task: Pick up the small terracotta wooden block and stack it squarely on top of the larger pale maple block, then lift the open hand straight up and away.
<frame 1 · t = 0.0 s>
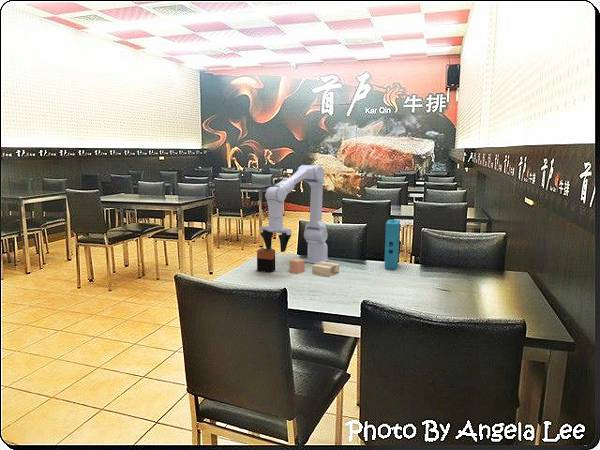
hand: (275, 250, 179), 10 cm above the table, tool pointing down, fingers open, 7 cm apart
battery: (266, 271, 187), on the table
terracotta block: (297, 271, 185), on the table
block: (391, 267, 193), on the table
maple block: (325, 274, 183), on the table
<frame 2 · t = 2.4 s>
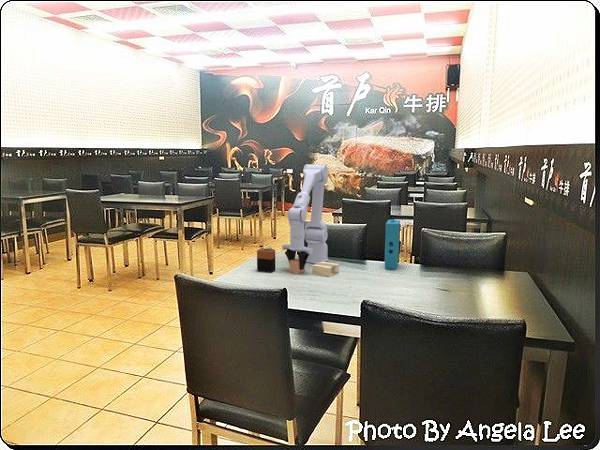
hand: (297, 268, 185), 1 cm above the table, tool pointing down, fingers closed on terracotta block, 4 cm apart
terracotta block: (297, 271, 185), on the table, touching gripper
everything else where it was.
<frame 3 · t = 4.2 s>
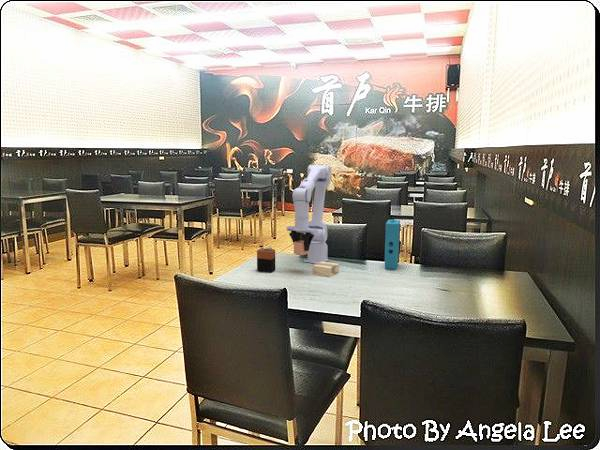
hand: (301, 249, 184), 9 cm above the table, tool pointing down, fingers closed on terracotta block, 4 cm apart
terracotta block: (301, 253, 184), point 8 cm above the table, touching gripper
everything else where it was.
when the fingers open (7 cm above the table, at t = 6.2 s): terracotta block drops 2 cm, point 4 cm above the table.
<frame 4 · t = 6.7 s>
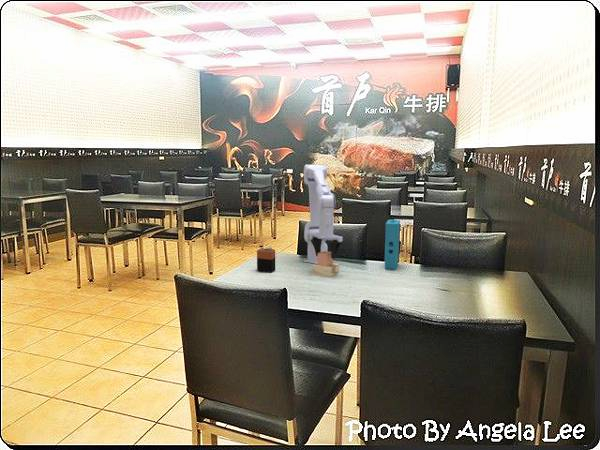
hand: (325, 257, 182), 7 cm above the table, tool pointing down, fingers open, 7 cm apart
terracotta block: (325, 264, 182), point 4 cm above the table
everything else where it was.
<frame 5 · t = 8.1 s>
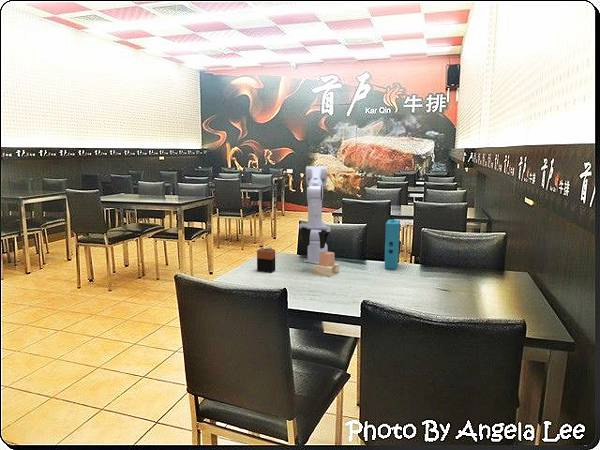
hand: (314, 247, 185), 10 cm above the table, tool pointing down, fingers open, 7 cm apart
terracotta block: (326, 264, 182), point 4 cm above the table, touching maple block
maple block: (326, 274, 183), on the table, touching terracotta block
everything else where it was.
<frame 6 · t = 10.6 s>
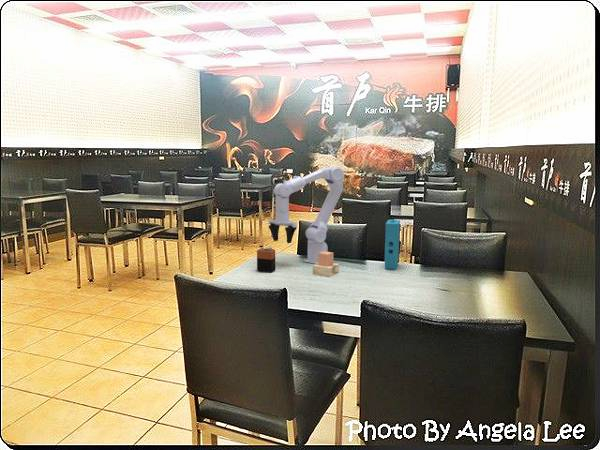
hand: (282, 241, 195), 10 cm above the table, tool pointing down, fingers open, 7 cm apart
nothing on the table moved.
at the end: terracotta block 0.1 cm off-centre on the maple block, point 4.0 cm above the maple block's base; terracotta block tilted 0°; the gripper is holding nothing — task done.
